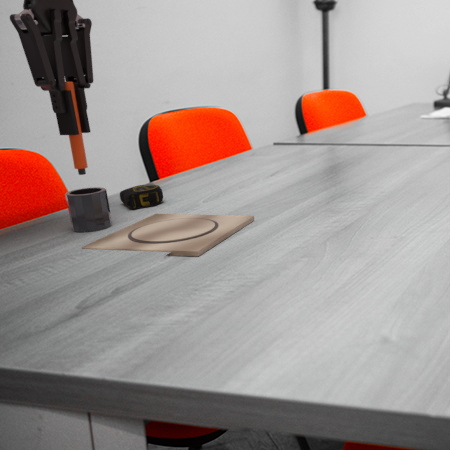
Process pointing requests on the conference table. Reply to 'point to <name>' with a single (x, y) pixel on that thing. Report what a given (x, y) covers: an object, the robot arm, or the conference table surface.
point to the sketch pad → (173, 234)
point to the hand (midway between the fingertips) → (75, 133)
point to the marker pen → (77, 138)
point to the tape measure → (142, 196)
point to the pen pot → (88, 209)
